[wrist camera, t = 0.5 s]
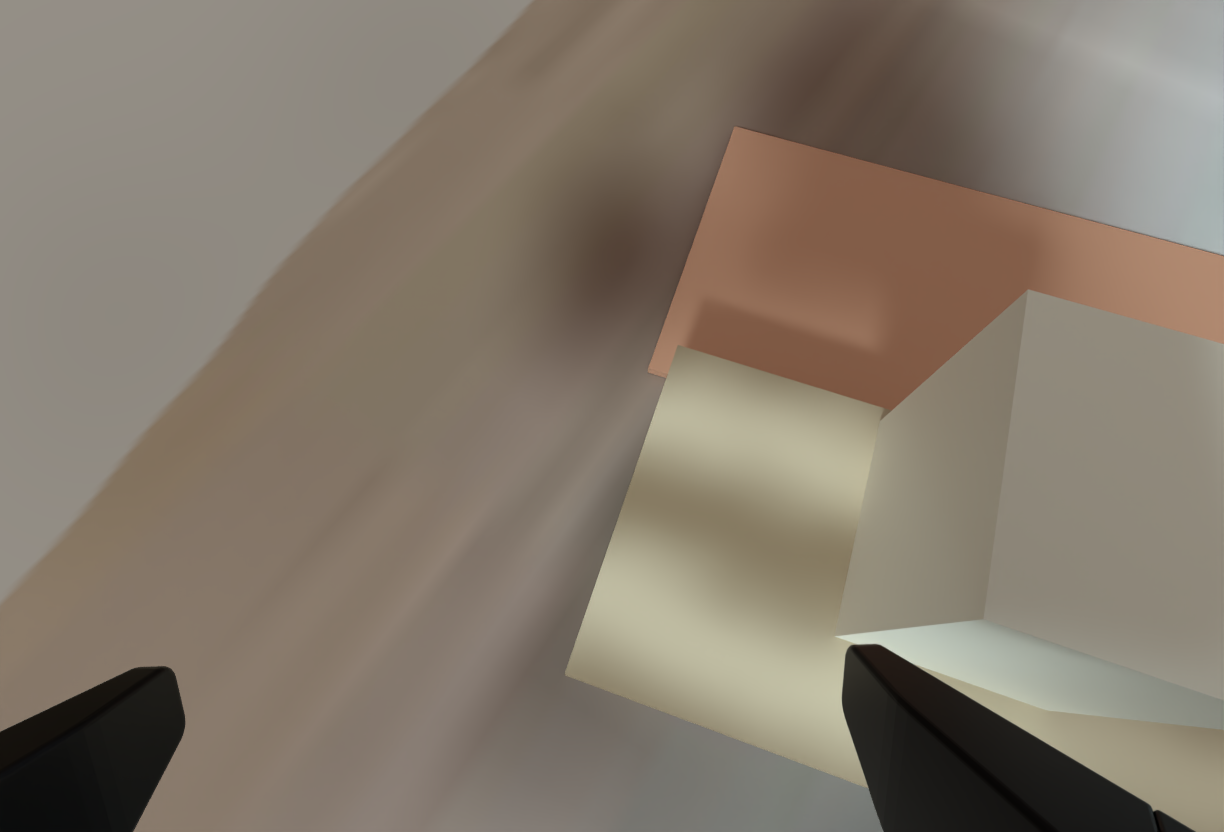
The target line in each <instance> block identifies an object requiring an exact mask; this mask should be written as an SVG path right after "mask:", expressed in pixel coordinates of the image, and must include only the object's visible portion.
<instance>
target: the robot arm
mask: <svg viewBox="0 0 1224 832" xmlns="http://www.w3.org/2000/svg"><path fill="white" fill-rule="evenodd" d="M842 708H843V713H844V717H845V720H846V723H847V726H848V729H849V732H850V735H851V738H852V741H853V744H854V747H855V750H856V753H857V756H858V759H859V762H860V765H861V768H862V770H863V773H864V776H865V779H866V782H867V785H868V788H869V791H870V794H871V797H872V800H873V803H874V806H875V809H876V812H877V815H878V818H879V820H880V823H881V826H882V829H883V831H884V832H1196V831H1194V830H1192V829H1191V828H1189V827H1187V826H1186V825H1184V824H1182V823H1181V822H1179V821H1177V820H1176V819H1174V818H1172V817H1170V816H1169V815H1167V814H1165V813H1164V812H1162V811H1160V810H1155V811H1153V809H1152V807H1151V805H1150V804H1148V803H1147V802H1145V801H1143V800H1142V799H1140V798H1138V797H1136V796H1135V795H1133V794H1131V793H1130V792H1128V791H1126V790H1125V789H1123V788H1121V787H1120V786H1118V785H1116V784H1115V783H1113V782H1111V781H1109V780H1108V779H1106V778H1104V777H1103V776H1101V775H1099V774H1098V773H1096V772H1094V771H1093V770H1091V769H1089V768H1088V767H1086V766H1084V765H1083V764H1081V763H1079V762H1077V761H1076V760H1074V759H1072V758H1071V757H1069V756H1067V755H1066V754H1064V753H1062V752H1061V751H1059V750H1057V749H1056V748H1054V747H1052V746H1050V745H1049V744H1047V743H1045V742H1044V741H1042V740H1040V739H1039V738H1037V737H1035V736H1034V735H1032V734H1030V733H1029V732H1027V731H1025V730H1024V729H1022V728H1020V727H1018V726H1017V725H1015V724H1013V723H1012V722H1010V721H1008V720H1007V719H1005V718H1003V717H1002V716H1000V715H998V714H997V713H995V712H993V711H991V710H990V709H988V708H986V707H985V706H983V705H981V704H980V703H978V702H976V701H975V700H973V699H971V698H970V697H968V696H966V695H965V694H963V693H961V692H959V691H958V690H956V689H954V688H953V687H951V686H949V685H948V684H946V683H944V682H943V681H941V680H939V679H938V678H936V677H934V676H932V675H931V674H929V673H927V672H926V671H924V670H922V669H921V668H919V667H917V666H916V665H914V664H912V663H911V662H909V661H907V660H906V659H904V658H902V657H900V656H899V655H897V654H895V653H894V652H892V651H890V650H889V649H887V648H885V647H884V646H882V645H879V644H854V645H851V646H849V647H848V648H847V651H846V654H845V663H844V675H843V686H842ZM184 729H185V714H184V710H183V706H182V701H181V697H180V693H179V688H178V684H177V680H176V676H175V673H174V672H173V671H172V669H170V668H168V667H166V666H157V667H138V668H134V669H131V670H129V671H127V672H125V673H123V674H121V675H118V676H116V677H114V678H112V679H110V680H108V681H106V682H104V683H102V684H100V685H97V686H95V687H93V688H91V689H89V690H87V691H85V692H83V693H81V694H79V695H76V696H74V697H72V698H70V699H68V700H66V701H64V702H62V703H60V704H58V705H55V706H53V707H51V708H49V709H47V710H45V711H43V712H41V713H39V714H37V715H34V716H32V717H30V718H28V719H26V720H24V721H22V722H20V723H18V724H16V725H13V726H11V727H9V728H7V729H5V730H3V731H1V732H0V832H133V831H134V829H135V827H136V825H137V823H138V821H139V819H140V818H141V816H142V814H143V812H144V810H145V808H146V806H147V804H148V802H149V800H150V798H151V796H152V795H153V793H154V791H155V789H156V787H157V785H158V783H159V781H160V779H161V777H162V775H163V773H164V771H165V770H166V768H167V766H168V764H169V762H170V760H171V758H172V756H173V754H174V752H175V750H176V748H177V746H178V745H179V743H180V741H181V738H182V736H183V733H184Z"/></svg>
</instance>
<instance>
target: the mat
mask: <svg viewBox="0 0 1224 832" xmlns="http://www.w3.org/2000/svg"><path fill="white" fill-rule="evenodd" d="M1028 289H1029V290H1032V291H1036V292H1040V293H1043V294H1047V295H1050V296H1054V297H1057V298H1061V299H1065V300H1068V301H1072V302H1075V303H1079V304H1083V305H1086V306H1090V307H1093V308H1097V309H1100V310H1104V311H1108V312H1111V313H1115V314H1118V315H1122V316H1125V317H1129V318H1133V319H1136V320H1140V321H1143V322H1147V323H1150V324H1154V325H1158V326H1161V327H1165V328H1168V329H1172V330H1175V331H1179V332H1183V333H1186V334H1190V335H1193V336H1197V337H1200V338H1204V339H1208V340H1211V341H1215V342H1218V343H1222V344H1224V256H1221V255H1217V254H1214V253H1210V252H1206V251H1202V250H1199V249H1195V248H1191V247H1187V246H1184V245H1180V244H1176V243H1172V242H1168V241H1165V240H1161V239H1157V238H1153V237H1150V236H1146V235H1142V234H1138V233H1135V232H1131V231H1127V230H1123V229H1120V228H1116V227H1112V226H1108V225H1104V224H1101V223H1097V222H1093V221H1089V220H1086V219H1082V218H1078V217H1074V216H1071V215H1067V214H1063V213H1059V212H1055V211H1052V210H1048V209H1044V208H1040V207H1037V206H1033V205H1029V204H1025V203H1022V202H1018V201H1014V200H1010V199H1007V198H1003V197H999V196H995V195H991V194H988V193H984V192H980V191H976V190H973V189H969V188H965V187H961V186H958V185H954V184H950V183H946V182H943V181H939V180H935V179H931V178H927V177H924V176H920V175H916V174H912V173H909V172H905V171H901V170H897V169H894V168H890V167H886V166H882V165H879V164H875V163H871V162H867V161H863V160H860V159H856V158H852V157H848V156H845V155H841V154H837V153H833V152H830V151H826V150H822V149H818V148H815V147H811V146H807V145H803V144H799V143H796V142H792V141H788V140H784V139H781V138H777V137H773V136H769V135H766V134H762V133H758V132H754V131H751V130H747V129H743V128H739V127H734V129H733V132H732V135H731V138H730V141H729V143H728V146H727V149H726V152H725V155H724V157H723V160H722V163H721V166H720V169H719V171H718V174H717V177H716V180H715V183H714V186H713V188H712V191H711V194H710V197H709V200H708V202H707V205H706V208H705V211H704V214H703V216H702V219H701V222H700V225H699V228H698V230H697V233H696V236H695V239H694V242H693V244H692V247H691V250H690V253H689V256H688V258H687V261H686V264H685V267H684V270H683V272H682V275H681V278H680V281H679V284H678V286H677V289H676V292H675V295H674V298H673V300H672V303H671V306H670V309H669V312H668V314H667V317H666V320H665V323H664V326H663V328H662V331H661V334H660V337H659V340H658V342H657V345H656V348H655V351H654V354H653V357H652V359H651V362H650V365H649V368H648V373H652V374H655V375H658V376H661V377H664V378H667V375H668V372H669V369H670V366H671V363H672V360H673V358H674V355H675V352H676V349H677V346H678V345H680V346H683V347H687V348H690V349H693V350H696V351H700V352H703V353H706V354H709V355H713V356H716V357H719V358H722V359H726V360H729V361H732V362H735V363H739V364H742V365H745V366H748V367H752V368H755V369H758V370H761V371H765V372H768V373H771V374H775V375H778V376H781V377H784V378H788V379H791V380H794V381H797V382H801V383H804V384H807V385H810V386H814V387H817V388H820V389H823V390H827V391H830V392H833V393H836V394H840V395H843V396H846V397H849V398H853V399H856V400H859V401H862V402H866V403H869V404H872V405H875V406H879V407H882V408H885V409H888V410H893V409H894V408H895V407H896V406H897V405H899V404H900V403H901V402H902V401H903V400H904V399H905V398H906V397H908V396H909V395H910V394H911V393H912V392H913V391H914V390H915V389H917V388H918V387H919V386H920V385H921V384H922V383H923V382H924V381H926V380H927V379H928V378H929V377H930V376H931V375H932V374H933V373H935V372H936V371H937V370H938V369H939V368H940V367H941V366H942V365H944V364H945V363H946V362H947V361H948V360H949V359H950V358H951V357H953V356H954V355H955V354H956V353H957V352H958V351H959V350H960V349H962V348H963V347H964V346H965V345H966V344H967V343H968V342H969V341H971V340H972V339H973V338H974V337H975V336H976V335H977V334H978V333H980V332H981V331H982V330H983V329H984V328H985V327H986V326H987V325H989V324H990V323H991V322H992V321H993V320H994V319H995V318H996V317H998V316H999V315H1000V314H1001V313H1002V312H1003V311H1004V310H1005V309H1007V308H1008V307H1009V306H1010V305H1011V304H1012V303H1013V302H1014V301H1016V300H1017V299H1018V298H1019V297H1020V296H1021V295H1022V294H1023V293H1025V292H1026V291H1027V290H1028Z"/></svg>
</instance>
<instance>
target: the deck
mask: <svg viewBox="0 0 1224 832" xmlns="http://www.w3.org/2000/svg"><path fill="white" fill-rule="evenodd" d="M891 411H892V410H888V409H885V408H882V407H879V406H875V405H872V404H869V403H866V402H862V401H859V400H856V399H853V398H849V397H846V396H843V395H840V394H836V393H833V392H830V391H827V390H823V389H820V388H817V387H814V386H810V385H807V384H804V383H801V382H797V381H794V380H791V379H788V378H784V377H781V376H778V375H775V374H771V373H768V372H765V371H761V370H758V369H755V368H752V367H748V366H745V365H742V364H739V363H735V362H732V361H729V360H726V359H722V358H719V357H716V356H713V355H709V354H706V353H703V352H700V351H696V350H693V349H690V348H687V347H683V346H680V345H678V346H677V349H676V352H675V355H674V358H673V360H672V363H671V366H670V369H669V372H668V375H667V378H666V381H665V384H664V387H663V390H662V392H661V395H660V398H659V401H658V404H657V407H656V410H655V413H654V416H653V419H652V422H651V424H650V427H649V430H648V433H647V436H646V439H645V442H644V445H643V448H642V451H641V454H640V456H639V459H638V462H637V465H636V468H635V471H634V474H633V477H632V480H631V483H630V486H629V488H628V491H627V494H626V497H625V500H624V503H623V506H622V509H621V512H620V515H619V517H618V520H617V523H616V526H615V529H614V532H613V535H612V538H611V541H610V544H609V547H608V549H607V552H606V555H605V558H604V561H603V564H602V567H601V570H600V573H599V576H598V579H597V581H596V584H595V587H594V590H593V593H592V596H591V599H590V602H589V605H588V608H587V611H586V613H585V616H584V619H583V622H582V625H581V628H580V631H579V634H578V637H577V640H576V643H575V645H574V648H573V651H572V654H571V657H570V660H569V663H568V666H567V669H566V672H565V675H566V676H569V677H571V678H574V679H577V680H579V681H582V682H585V683H587V684H590V685H593V686H595V687H598V688H601V689H603V690H606V691H609V692H612V693H614V694H617V695H620V696H622V697H625V698H628V699H630V700H633V701H636V702H638V703H641V704H644V705H646V706H649V707H652V708H654V709H657V710H660V711H662V712H665V713H668V714H670V715H673V716H676V717H679V718H681V719H684V720H687V721H689V722H692V723H695V724H697V725H700V726H703V727H705V728H708V729H711V730H713V731H716V732H719V733H721V734H724V735H727V736H729V737H732V738H735V739H737V740H740V741H743V742H746V743H748V744H751V745H754V746H756V747H759V748H762V749H764V750H767V751H770V752H772V753H775V754H778V755H780V756H783V757H786V758H788V759H791V760H794V761H796V762H799V763H802V764H804V765H807V766H810V767H812V768H815V769H818V770H821V771H823V772H826V773H829V774H831V775H834V776H837V777H839V778H842V779H845V780H847V781H850V782H853V783H855V784H858V785H861V786H863V787H866V788H868V785H867V782H866V779H865V776H864V773H863V770H862V768H861V765H860V762H859V759H858V756H857V753H856V750H855V747H854V744H853V741H852V738H851V735H850V732H849V729H848V726H847V723H846V720H845V717H844V713H843V708H842V686H843V675H844V663H845V654H846V651H847V648H848V647H849V646H851V645H854V644H855V643H852V642H849V641H846V640H843V639H840V638H838V637H835V636H834V635H835V631H836V626H837V621H838V616H839V612H840V607H841V602H842V597H843V593H844V588H845V583H846V579H847V574H848V569H849V564H850V560H851V555H852V550H853V545H854V541H855V536H856V531H857V527H858V522H859V517H860V512H861V508H862V503H863V498H864V493H865V489H866V484H867V479H868V474H869V470H870V465H871V460H872V456H873V451H874V446H875V441H876V437H877V432H878V427H879V422H880V421H881V420H882V419H883V418H884V417H885V416H886V415H887V414H888V413H890V412H891ZM914 665H915V664H914ZM916 666H917V667H919V668H921V669H922V670H924V671H926V672H927V673H929V674H931V675H932V676H934V677H936V678H938V679H939V680H941V681H943V682H944V683H946V684H948V685H949V686H951V687H953V688H954V689H956V690H958V691H959V692H961V693H963V694H965V695H966V696H968V697H970V698H971V699H973V700H975V701H976V702H978V703H980V704H981V705H983V706H985V707H986V708H988V709H990V710H991V711H993V712H995V713H997V714H998V715H1000V716H1002V717H1003V718H1005V719H1007V720H1008V721H1010V722H1012V723H1013V724H1015V725H1017V726H1018V727H1020V728H1022V729H1024V730H1025V731H1027V732H1029V733H1030V734H1032V735H1034V736H1035V737H1037V738H1039V739H1040V740H1042V741H1044V742H1045V743H1047V744H1049V745H1050V746H1052V747H1054V748H1056V749H1057V750H1059V751H1061V752H1062V753H1064V754H1066V755H1067V756H1069V757H1071V758H1072V759H1074V760H1076V761H1077V762H1079V763H1081V764H1083V765H1084V766H1086V767H1088V768H1089V769H1091V770H1093V771H1094V772H1096V773H1098V774H1099V775H1101V776H1103V777H1104V778H1106V779H1108V780H1109V781H1111V782H1113V783H1115V784H1116V785H1118V786H1120V787H1121V788H1123V789H1125V790H1126V791H1128V792H1130V793H1131V794H1133V795H1135V796H1136V797H1138V798H1140V799H1142V800H1143V801H1145V802H1147V803H1148V804H1150V805H1151V807H1152V809H1153V811H1155V810H1160V811H1162V812H1164V813H1165V814H1167V815H1169V816H1170V817H1172V818H1174V819H1176V820H1177V821H1179V822H1181V823H1182V824H1184V825H1186V826H1187V827H1189V828H1191V829H1192V830H1194V831H1196V832H1224V730H1220V729H1211V728H1202V727H1193V726H1184V725H1175V724H1166V723H1157V722H1148V721H1138V720H1129V719H1120V718H1111V717H1102V716H1093V715H1084V714H1075V713H1066V712H1057V711H1048V710H1044V709H1041V708H1038V707H1035V706H1032V705H1029V704H1027V703H1024V702H1021V701H1018V700H1015V699H1012V698H1009V697H1007V696H1004V695H1001V694H998V693H995V692H992V691H989V690H987V689H984V688H981V687H978V686H975V685H972V684H969V683H966V682H964V681H961V680H958V679H955V678H952V677H949V676H946V675H944V674H941V673H938V672H935V671H932V670H929V669H926V668H924V667H921V666H918V665H916Z"/></svg>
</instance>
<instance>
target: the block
mask: <svg viewBox="0 0 1224 832" xmlns="http://www.w3.org/2000/svg"><path fill="white" fill-rule="evenodd" d="M834 636H835V637H838V638H840V639H843V640H846V641H849V642H852V643H855V644H879V645H882V646H884V647H885V648H887V649H889V650H890V651H892V652H894V653H895V654H897V655H899V656H900V657H902V658H904V659H906V660H907V661H909V662H911V663H912V664H915V665H918V666H921V667H924V668H926V669H929V670H932V671H935V672H938V673H941V674H944V675H946V676H949V677H952V678H955V679H958V680H961V681H964V682H966V683H969V684H972V685H975V686H978V687H981V688H984V689H987V690H989V691H992V692H995V693H998V694H1001V695H1004V696H1007V697H1009V698H1012V699H1015V700H1018V701H1021V702H1024V703H1027V704H1029V705H1032V706H1035V707H1038V708H1041V709H1044V710H1048V711H1057V712H1066V713H1075V714H1084V715H1093V716H1102V717H1111V718H1120V719H1129V720H1138V721H1148V722H1157V723H1166V724H1175V725H1184V726H1193V727H1202V728H1211V729H1220V730H1224V344H1222V343H1218V342H1215V341H1211V340H1208V339H1204V338H1200V337H1197V336H1193V335H1190V334H1186V333H1183V332H1179V331H1175V330H1172V329H1168V328H1165V327H1161V326H1158V325H1154V324H1150V323H1147V322H1143V321H1140V320H1136V319H1133V318H1129V317H1125V316H1122V315H1118V314H1115V313H1111V312H1108V311H1104V310H1100V309H1097V308H1093V307H1090V306H1086V305H1083V304H1079V303H1075V302H1072V301H1068V300H1065V299H1061V298H1057V297H1054V296H1050V295H1047V294H1043V293H1040V292H1036V291H1032V290H1029V289H1028V290H1027V291H1026V292H1025V293H1023V294H1022V295H1021V296H1020V297H1019V298H1018V299H1017V300H1016V301H1014V302H1013V303H1012V304H1011V305H1010V306H1009V307H1008V308H1007V309H1005V310H1004V311H1003V312H1002V313H1001V314H1000V315H999V316H998V317H996V318H995V319H994V320H993V321H992V322H991V323H990V324H989V325H987V326H986V327H985V328H984V329H983V330H982V331H981V332H980V333H978V334H977V335H976V336H975V337H974V338H973V339H972V340H971V341H969V342H968V343H967V344H966V345H965V346H964V347H963V348H962V349H960V350H959V351H958V352H957V353H956V354H955V355H954V356H953V357H951V358H950V359H949V360H948V361H947V362H946V363H945V364H944V365H942V366H941V367H940V368H939V369H938V370H937V371H936V372H935V373H933V374H932V375H931V376H930V377H929V378H928V379H927V380H926V381H924V382H923V383H922V384H921V385H920V386H919V387H918V388H917V389H915V390H914V391H913V392H912V393H911V394H910V395H909V396H908V397H906V398H905V399H904V400H903V401H902V402H901V403H900V404H899V405H897V406H896V407H895V408H894V409H893V410H892V411H891V412H890V413H888V414H887V415H886V416H885V417H884V418H883V419H882V420H881V421H880V422H879V427H878V432H877V437H876V441H875V446H874V451H873V456H872V460H871V465H870V470H869V474H868V479H867V484H866V489H865V493H864V498H863V503H862V508H861V512H860V517H859V522H858V527H857V531H856V536H855V541H854V545H853V550H852V555H851V560H850V564H849V569H848V574H847V579H846V583H845V588H844V593H843V597H842V602H841V607H840V612H839V616H838V621H837V626H836V631H835V635H834Z"/></svg>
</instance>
